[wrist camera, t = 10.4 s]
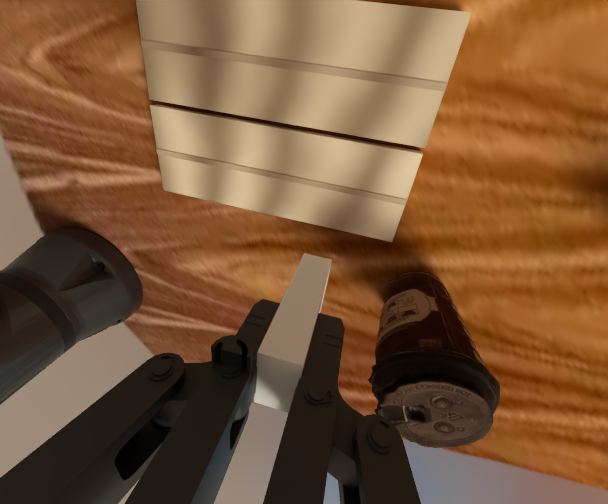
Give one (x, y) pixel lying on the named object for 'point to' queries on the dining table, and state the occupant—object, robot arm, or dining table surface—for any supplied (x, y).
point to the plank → (285, 171)
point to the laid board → (305, 62)
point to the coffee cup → (430, 367)
